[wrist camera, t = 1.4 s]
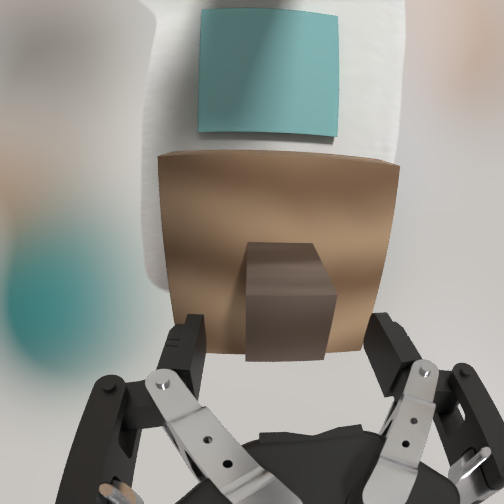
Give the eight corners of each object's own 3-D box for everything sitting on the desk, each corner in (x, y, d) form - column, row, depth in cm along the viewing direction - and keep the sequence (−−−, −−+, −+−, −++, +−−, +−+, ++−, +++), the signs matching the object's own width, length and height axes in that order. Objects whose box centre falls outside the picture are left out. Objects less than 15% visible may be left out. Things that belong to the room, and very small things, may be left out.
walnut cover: (173, 151, 19) (111, 172, 10) (377, 159, 19) (457, 187, 10) (187, 324, 25) (163, 410, 16) (349, 324, 25) (382, 406, 16)
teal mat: (203, 12, 23) (201, 9, 22) (335, 19, 23) (337, 16, 23) (199, 132, 29) (198, 132, 29) (334, 136, 30) (337, 136, 29)
